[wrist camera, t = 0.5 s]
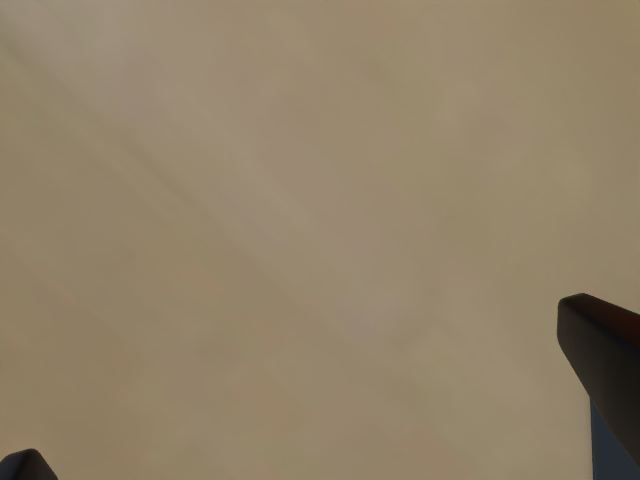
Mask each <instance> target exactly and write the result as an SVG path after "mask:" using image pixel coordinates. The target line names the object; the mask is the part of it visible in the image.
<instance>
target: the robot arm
mask: <svg viewBox="0 0 640 480" xmlns="http://www.w3.org/2000/svg"><path fill="white" fill-rule="evenodd" d="M557 338H558V342H559V345H560V347H561V349H562V351H563V352H564V354H565V356H566V358H567V359H568V361H569V363H570V364H571V366H572V368H573V369H574V371H575V373H576V374H577V376H578V378H579V380H580V381H581V383H582V385H583V386H584V388H585V390H586V391H587V393H588V395H589V397H590V398H591V400H592V402H593V403H594V405H595V407H596V408H597V410H598V412H599V413H600V415H601V417H602V418H603V420H604V421H605V423H606V424H607V426H608V427H609V429H610V430H611V432H612V433H613V434H614V436H615V437H616V438H617V440H618V441H619V443H620V444H621V445H622V447H623V448H624V449H625V451H626V452H627V453H628V455H629V456H630V457H631V459H632V460H633V461H634V463H635V464H636V465H637V467H638V468H639V469H640V315H639V314H637V313H634V312H632V311H629V310H627V309H624V308H622V307H619V306H617V305H614V304H611V303H609V302H606V301H604V300H601V299H599V298H596V297H594V296H591V295H588V294H585V293H579V294H576V295H572V296H568V297H565V298H562V299H561V300H560V301H559V303H558V318H557ZM0 480H58V478H57V476H56V475H55V473H54V472H53V471H52V469H51V468H50V467H49V465H48V464H47V462H46V461H45V460H44V458H43V457H42V455H41V454H40V453H39V452H38V451H37V450H35V449H26V450H23V451H19V452H16V453H12V454H10V455H8V456H6V457H5V458H4V459H3V460H2V461H1V462H0Z"/></svg>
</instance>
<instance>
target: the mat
mask: <svg viewBox="0 0 640 480" xmlns="http://www.w3.org/2000/svg"><path fill="white" fill-rule="evenodd" d="M590 406H591V433H592V460H593V480H640V469H639V468H638V467H637V465H636V464H635V463H634V461H633V460H632V459H631V457H630V456H629V455H628V453H627V452H626V451H625V449H624V448H623V447H622V445H621V444H620V443H619V441H618V440H617V438H616V437H615V436H614V434H613V433H612V432H611V430H610V429H609V427H608V426H607V424H606V423H605V421H604V420H603V418H602V417H601V415H600V413H599V412H598V410H597V408H596V407H595V405H594V403H593V402H592V400H591V398H590Z"/></svg>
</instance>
